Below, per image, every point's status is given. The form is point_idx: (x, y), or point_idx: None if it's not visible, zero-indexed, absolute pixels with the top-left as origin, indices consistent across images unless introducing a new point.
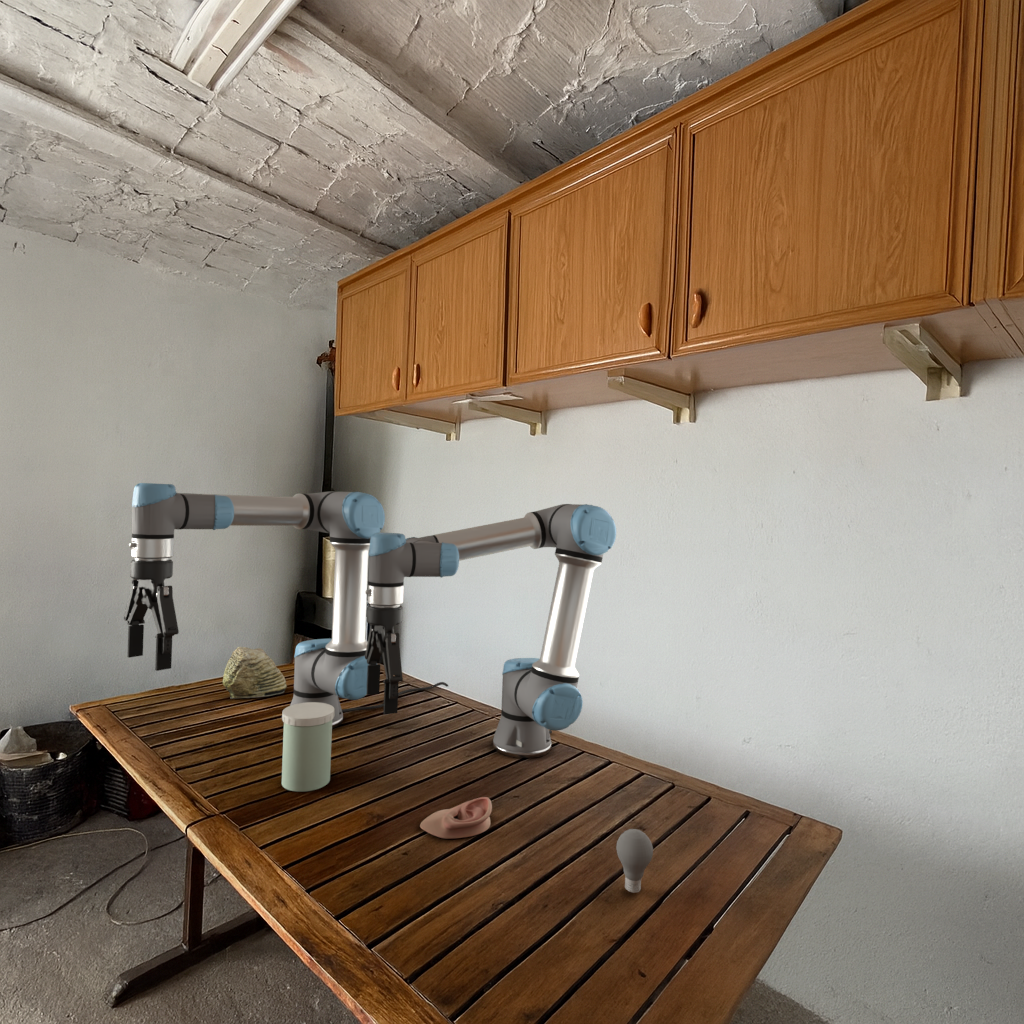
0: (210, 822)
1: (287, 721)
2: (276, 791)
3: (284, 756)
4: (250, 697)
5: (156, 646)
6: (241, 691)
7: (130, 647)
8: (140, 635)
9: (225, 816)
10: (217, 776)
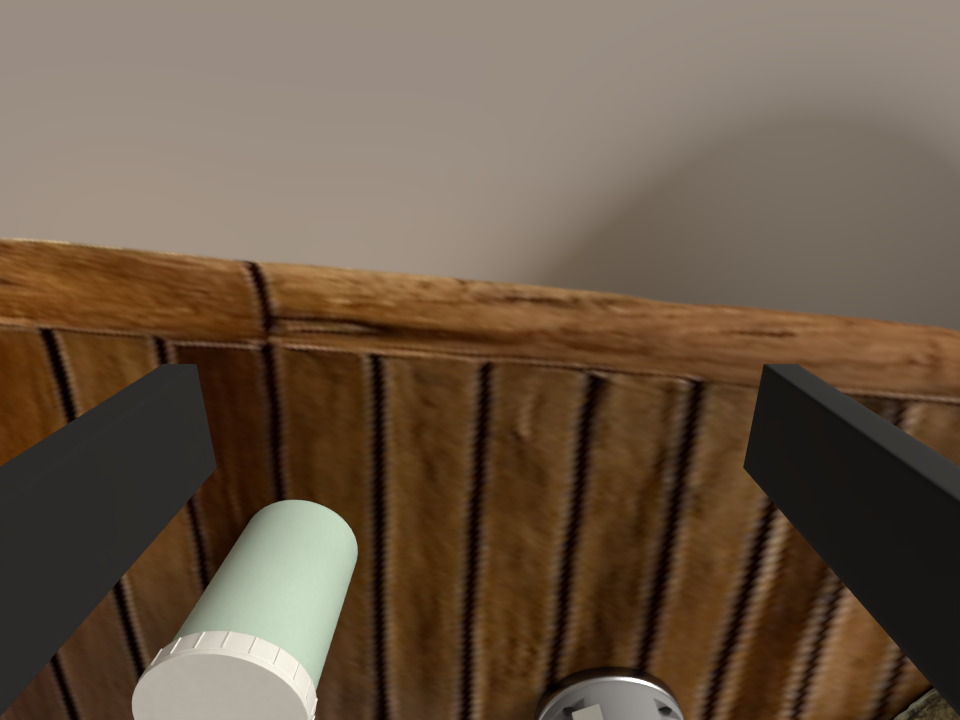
0: (235, 306)
1: (205, 638)
2: (294, 480)
3: (276, 553)
4: (908, 709)
5: (10, 479)
6: (936, 712)
7: (818, 415)
8: (875, 579)
9: (243, 344)
10: (474, 428)
